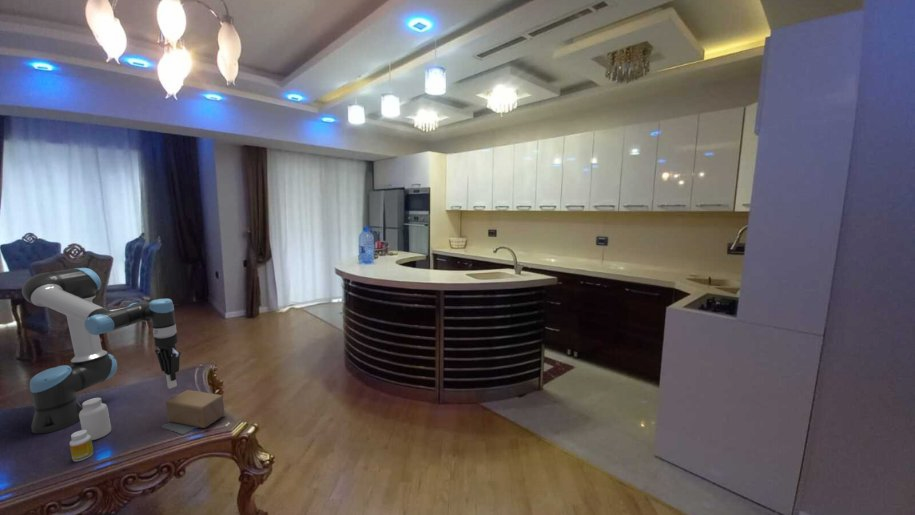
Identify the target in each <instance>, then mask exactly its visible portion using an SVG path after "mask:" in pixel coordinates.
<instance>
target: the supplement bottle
mask: <svg viewBox="0 0 915 515" xmlns="http://www.w3.org/2000/svg"><path fill="white" fill-rule="evenodd" d="M70 437H71V438H70V439H71V440H70V441H69V450H70V453H71V460H72V461H73V462H80V461H84V460H86V459H89V458H90V457H91V456H93V454H94V446H93V440H91V436H90V435H88V434H87V430H82V429H81V430H77V431H75V432H73V433H72V434H71V435H70Z"/></svg>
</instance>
